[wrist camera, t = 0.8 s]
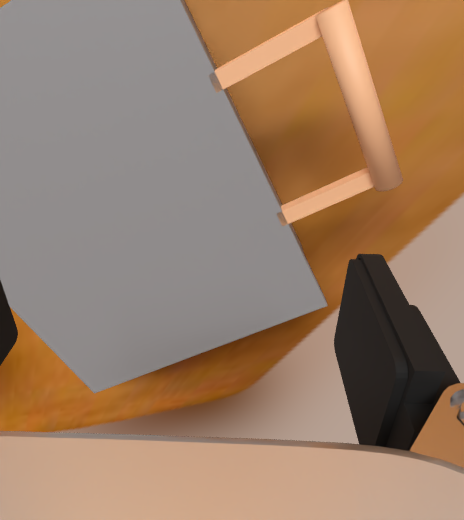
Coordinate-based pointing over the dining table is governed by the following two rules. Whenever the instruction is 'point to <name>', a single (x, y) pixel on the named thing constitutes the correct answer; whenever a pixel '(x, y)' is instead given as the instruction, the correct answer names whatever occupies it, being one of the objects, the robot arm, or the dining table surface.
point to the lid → (153, 183)
